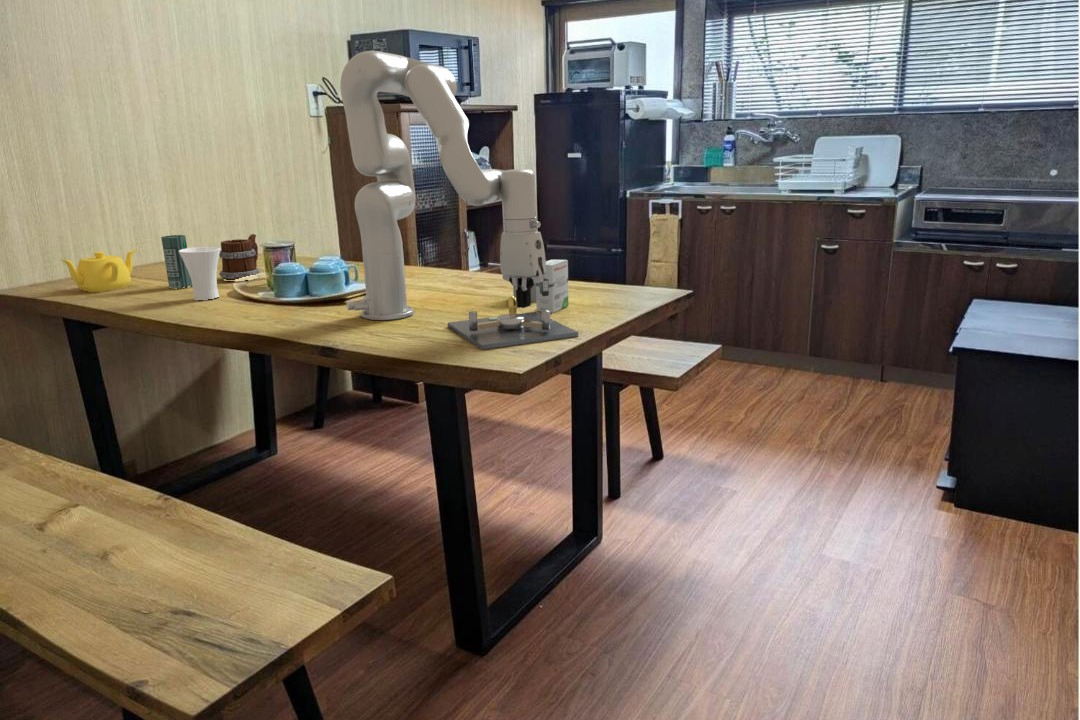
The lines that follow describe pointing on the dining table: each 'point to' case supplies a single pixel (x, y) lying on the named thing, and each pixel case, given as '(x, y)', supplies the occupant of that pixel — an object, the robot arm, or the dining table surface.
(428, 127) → the robot arm
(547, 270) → the ink box
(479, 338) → the stand plate
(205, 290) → the cup
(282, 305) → the dining table surface
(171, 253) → the teal patterned carton
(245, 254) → the mug
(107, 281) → the teapot
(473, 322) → the capstan
